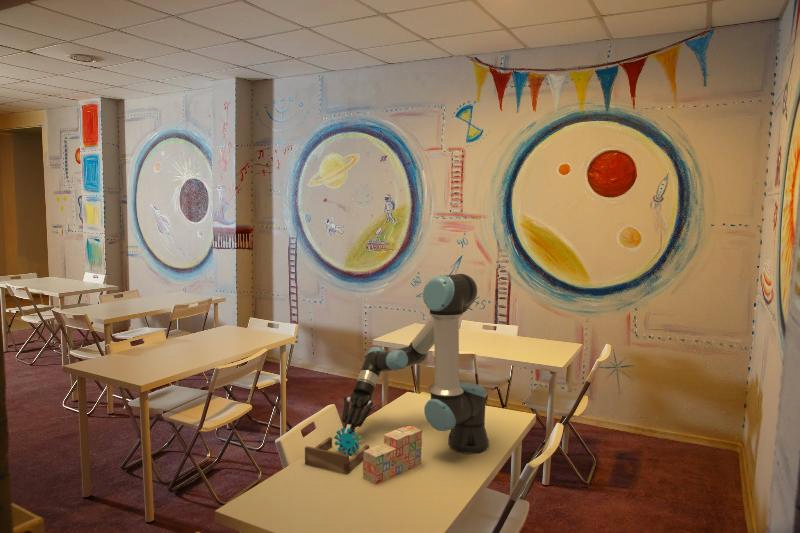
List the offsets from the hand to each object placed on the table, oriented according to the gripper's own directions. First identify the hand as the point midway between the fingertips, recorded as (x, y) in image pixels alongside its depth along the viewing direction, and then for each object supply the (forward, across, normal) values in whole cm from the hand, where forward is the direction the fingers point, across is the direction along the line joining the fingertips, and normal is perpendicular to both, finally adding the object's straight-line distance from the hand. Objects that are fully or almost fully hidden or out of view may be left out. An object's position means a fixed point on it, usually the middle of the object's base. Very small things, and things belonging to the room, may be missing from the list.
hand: (344, 442), depth 195 cm
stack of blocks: (+7, -23, +4) cm, 24 cm away
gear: (+3, -2, 0) cm, 4 cm away
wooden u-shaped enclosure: (+7, -2, +4) cm, 9 cm away
